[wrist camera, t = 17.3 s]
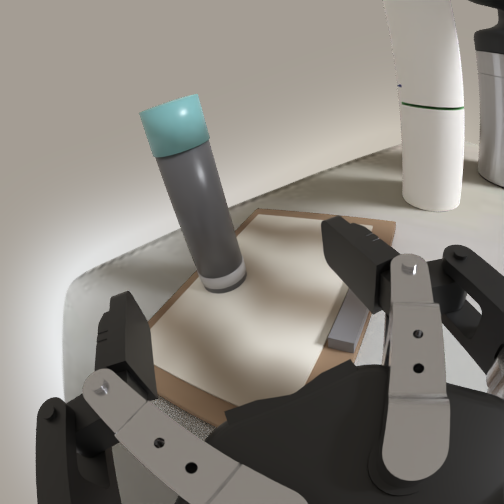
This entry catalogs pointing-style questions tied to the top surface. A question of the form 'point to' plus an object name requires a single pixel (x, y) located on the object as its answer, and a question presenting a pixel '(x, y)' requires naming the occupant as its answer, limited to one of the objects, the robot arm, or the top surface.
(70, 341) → the top surface
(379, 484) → the robot arm
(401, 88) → the cylindrical container
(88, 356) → the top surface
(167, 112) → the marker
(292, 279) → the clipboard
